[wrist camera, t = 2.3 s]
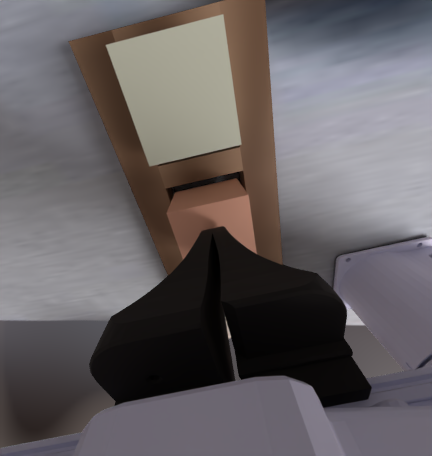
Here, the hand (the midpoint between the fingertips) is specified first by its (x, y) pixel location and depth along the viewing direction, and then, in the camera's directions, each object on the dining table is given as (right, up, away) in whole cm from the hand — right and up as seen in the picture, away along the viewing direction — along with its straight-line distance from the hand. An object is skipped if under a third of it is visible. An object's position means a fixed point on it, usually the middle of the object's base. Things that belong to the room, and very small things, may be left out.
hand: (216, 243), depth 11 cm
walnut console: (0, +3, +5) cm, 6 cm away
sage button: (-2, +8, +1) cm, 8 cm away
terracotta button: (0, +2, +4) cm, 4 cm away
